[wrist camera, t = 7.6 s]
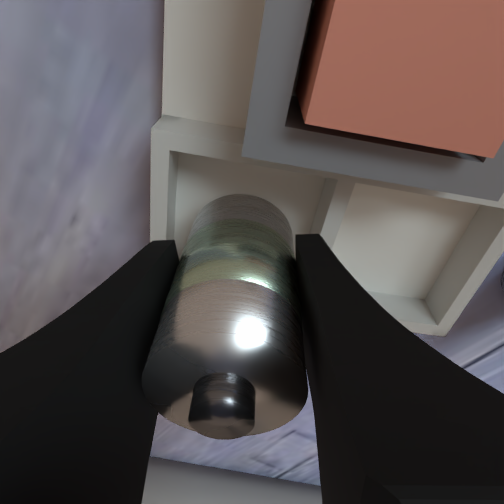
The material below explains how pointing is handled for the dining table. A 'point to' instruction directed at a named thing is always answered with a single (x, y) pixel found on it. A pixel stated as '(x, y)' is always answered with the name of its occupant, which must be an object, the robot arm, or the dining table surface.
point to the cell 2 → (502, 281)
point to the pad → (407, 71)
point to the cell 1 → (231, 325)
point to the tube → (219, 486)
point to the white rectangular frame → (315, 164)
